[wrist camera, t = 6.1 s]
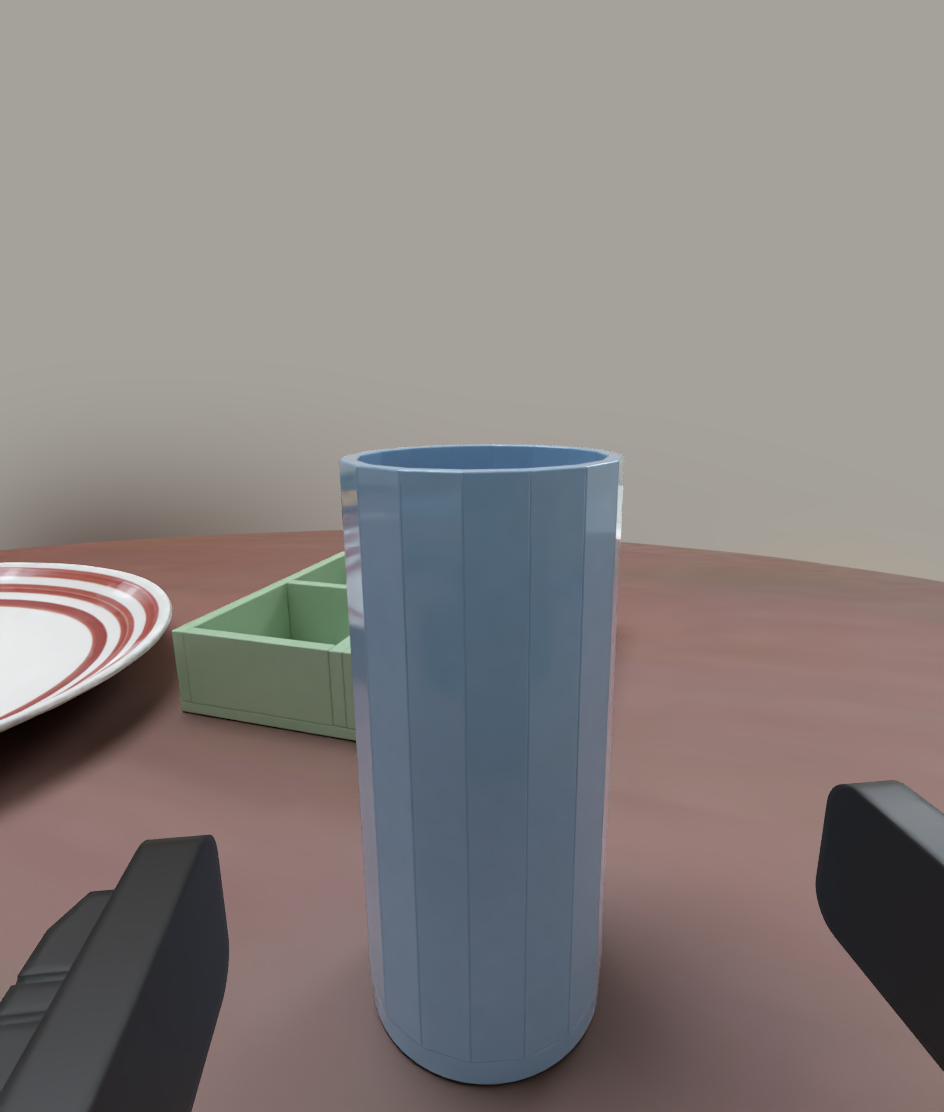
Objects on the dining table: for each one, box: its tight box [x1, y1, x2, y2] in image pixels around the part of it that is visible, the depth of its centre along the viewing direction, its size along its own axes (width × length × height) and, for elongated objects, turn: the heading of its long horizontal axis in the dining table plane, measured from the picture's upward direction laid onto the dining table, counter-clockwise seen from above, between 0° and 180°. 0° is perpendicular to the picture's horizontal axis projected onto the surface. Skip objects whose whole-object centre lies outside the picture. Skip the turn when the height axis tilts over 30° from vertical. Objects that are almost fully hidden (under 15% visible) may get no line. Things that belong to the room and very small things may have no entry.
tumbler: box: [339, 444, 625, 1085], centre depth 14 cm, size 5×5×12 cm
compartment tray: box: [172, 551, 356, 741], centre depth 32 cm, size 15×15×4 cm
